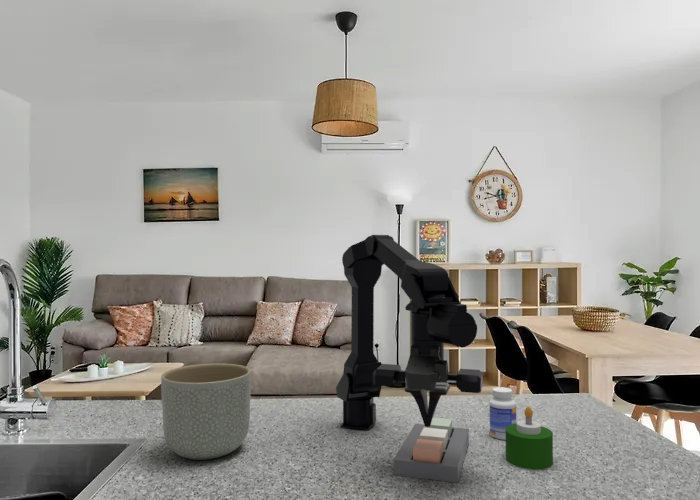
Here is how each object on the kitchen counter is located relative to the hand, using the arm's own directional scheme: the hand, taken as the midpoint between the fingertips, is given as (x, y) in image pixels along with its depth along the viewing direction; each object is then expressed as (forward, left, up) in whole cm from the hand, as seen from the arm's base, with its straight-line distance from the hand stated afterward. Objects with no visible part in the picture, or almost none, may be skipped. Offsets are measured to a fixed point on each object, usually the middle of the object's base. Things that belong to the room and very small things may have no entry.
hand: (427, 426), depth 95 cm
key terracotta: (0, 0, -6) cm, 6 cm away
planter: (-43, -3, -8) cm, 44 cm away
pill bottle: (+12, +22, -8) cm, 26 cm away
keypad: (0, +6, -8) cm, 10 cm away
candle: (+17, +10, -8) cm, 21 cm away
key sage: (0, +13, -6) cm, 14 cm away
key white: (0, +6, -6) cm, 9 cm away
